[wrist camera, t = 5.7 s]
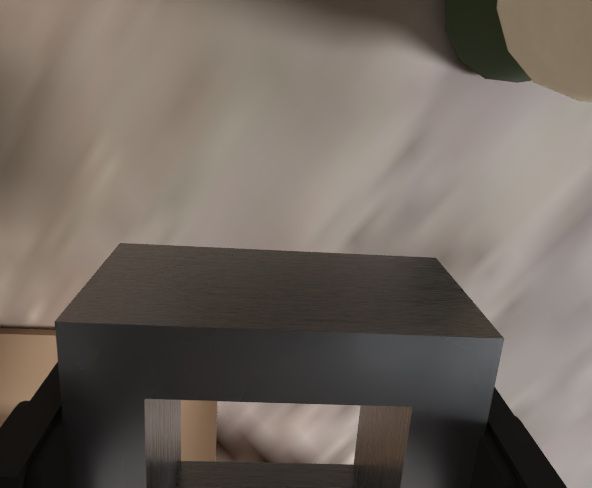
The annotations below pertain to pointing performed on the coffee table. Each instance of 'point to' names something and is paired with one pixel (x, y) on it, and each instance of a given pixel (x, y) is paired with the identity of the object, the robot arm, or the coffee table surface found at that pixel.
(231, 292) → the link
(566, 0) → the character mug
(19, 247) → the coffee table surface
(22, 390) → the tan piece
